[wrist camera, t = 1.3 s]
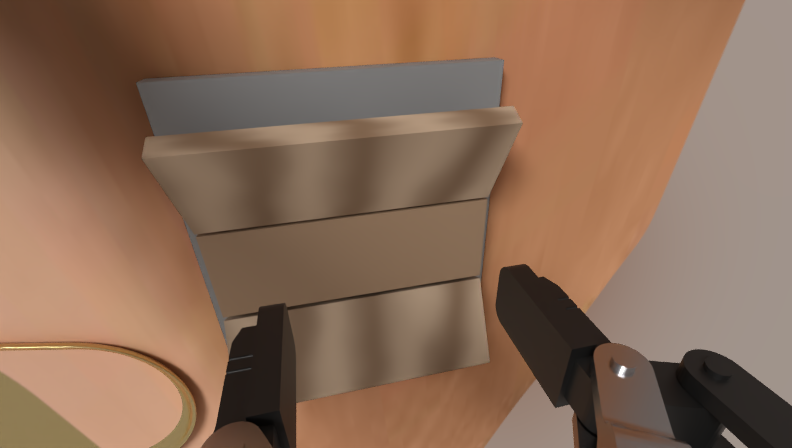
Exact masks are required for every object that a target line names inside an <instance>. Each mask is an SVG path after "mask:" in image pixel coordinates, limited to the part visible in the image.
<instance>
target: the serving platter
mask: <svg viewBox="0 0 792 448" xmlns="http://www.w3.org/2000/svg"><path fill="white" fill-rule="evenodd" d="M61 349H89V350H100V351H107V352H113V353H118V354H122V355H125V356H129V357H132V358H135V359H138V360H140V361H142V362H145V363H147V364H149V365H151V366H153V367H154V368H156V369H157V370H159V371H160V372H162V373H163V374H164V375H166V376H167V377H168V378H169V379H170V380H171V381H172V382H173V383H174V385H175V386H176V388H177V389H178V391H179V393H180V395H181V398H182V403H183V411H182V416H181V419H180V421H179V423H178V425H177V426H176V428H175V429H174V430H173V431H172V432H171V433H170V434H169V435H168V436H167V437H166V438H165V439H163V440H162V441H160V442H159V443H157V444H156V445H154V446H152V447H150V448H180V447H182V445H183V444H184V443H185V442H186V441H187V439H188V438H189V437H190V435H191V433H192V431H193V429H194V426H195V423H196V418H197V409H196V404H195V400H194V398H193V395H192V393H191V391H190V390H189V388H188V387H187V385H186V384H185V383H184V382H183V381H182V379H181V378H180V377H179V376H178V375H176V374H175V373H174V372H173V371H172V370H170V369H169V368H168V367H166V366H164V365H163V364H161V363H160V362H158V361H156V360H154V359H152V358H150V357H147V356H145V355H143V354H140V353H137V352H134V351H131V350H127V349H124V348H120V347H115V346H110V345H103V344H94V343H76V342H73V343H0V351H3V350H61ZM188 400H189V401H188ZM0 448H100V447H99V446H98V445H96V444H95V443H94V442H93V441H92V440H90V439H89V438H88V437H87V436H85V435H84V434H83V433H82V432H80V431H79V430H78V429H77V428H75V427H74V426H73V425H72V424H70V423H69V422H68V421H67V420H65V419H64V418H63V417H62V416H60V415H59V414H58V413H57V412H55V411H54V410H53V409H52V408H51V407H49V406H48V405H47V404H46V403H44V402H43V401H42V400H41V399H39V398H38V397H37V396H36V395H34V394H33V393H32V392H30V391H29V390H27V389H26V388H25V387H23V386H22V385H21V384H19V383H18V382H16V381H15V380H13V379H12V378H10V377H9V376H7V375H5V374H4V373H2V372H0Z"/></svg>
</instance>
